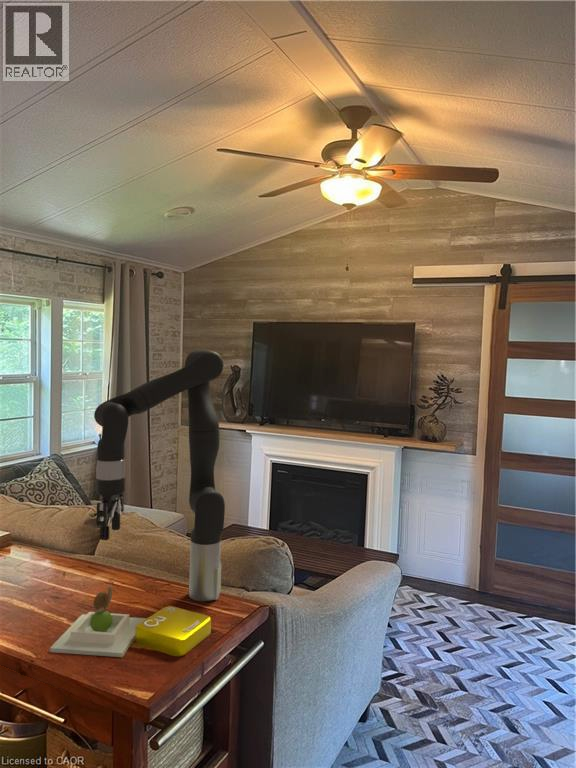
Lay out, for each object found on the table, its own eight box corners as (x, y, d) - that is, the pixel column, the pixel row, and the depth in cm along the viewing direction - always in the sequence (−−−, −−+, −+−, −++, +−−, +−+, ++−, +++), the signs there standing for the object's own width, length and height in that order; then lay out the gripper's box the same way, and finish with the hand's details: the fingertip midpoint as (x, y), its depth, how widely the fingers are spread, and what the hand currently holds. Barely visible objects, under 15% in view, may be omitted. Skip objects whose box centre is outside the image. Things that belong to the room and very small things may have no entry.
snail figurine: (119, 627, 144) (120, 583, 143) (101, 638, 138) (102, 591, 137) (103, 622, 146) (104, 578, 146) (85, 633, 140) (86, 587, 140)
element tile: (180, 659, 132) (181, 640, 132) (131, 644, 138) (132, 625, 138) (213, 632, 146) (214, 614, 146) (167, 619, 152) (168, 602, 152)
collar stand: (146, 621, 150) (146, 609, 149) (122, 657, 132) (122, 643, 131) (82, 617, 151) (82, 605, 150) (49, 652, 133) (50, 638, 133)
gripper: (115, 482, 141) (115, 543, 142) (132, 470, 155) (132, 526, 156) (86, 481, 141) (86, 542, 142) (106, 470, 156) (106, 526, 156)
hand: (110, 534), depth 149 cm, fingers open, 8 cm apart
